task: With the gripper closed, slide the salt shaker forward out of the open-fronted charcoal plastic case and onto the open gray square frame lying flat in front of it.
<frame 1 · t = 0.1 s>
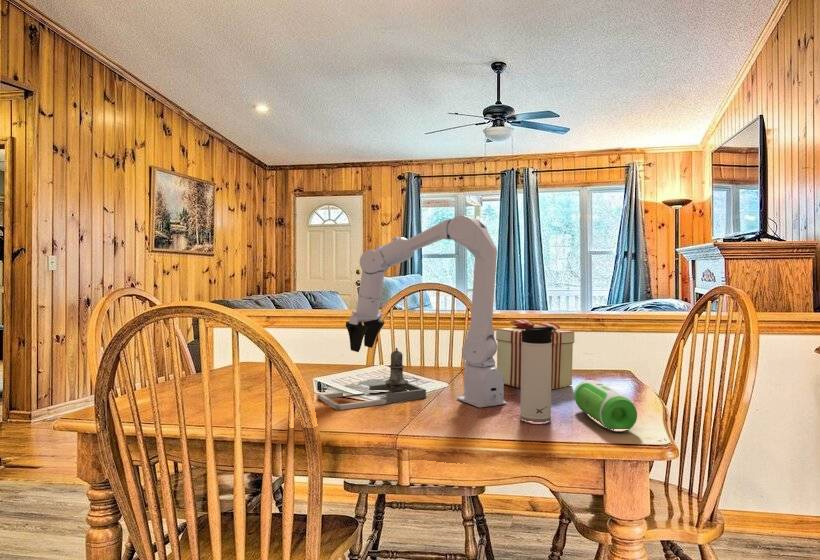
hand: (361, 348, 148), 11 cm above the table, tool pointing down, fingers open, 7 cm apart
speaker: (603, 423, 120), on the table
gift box: (535, 384, 157), on the table
gray square frame: (351, 401, 136), on the table
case: (396, 395, 142), on the table
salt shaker: (396, 396, 142), resting in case
travel mug: (536, 421, 121), on the table
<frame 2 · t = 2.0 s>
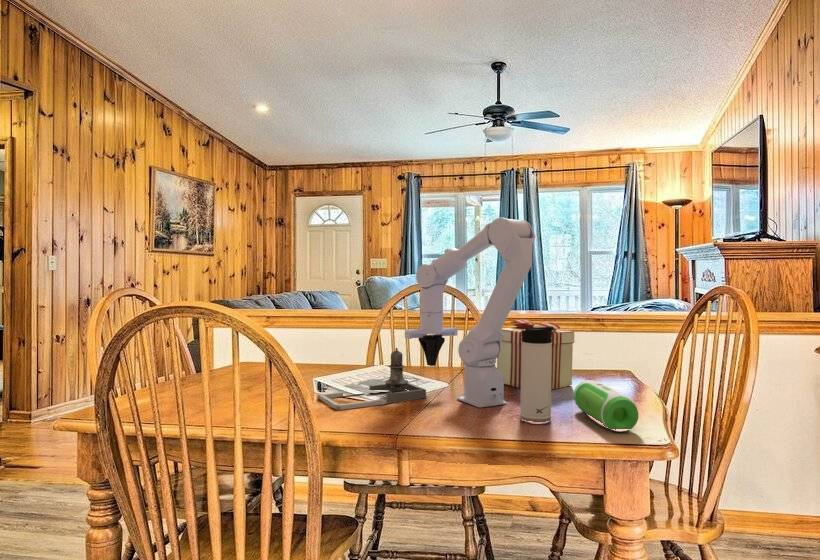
hand: (431, 365, 147), 7 cm above the table, tool pointing down, fingers closed
nothing on the table moved.
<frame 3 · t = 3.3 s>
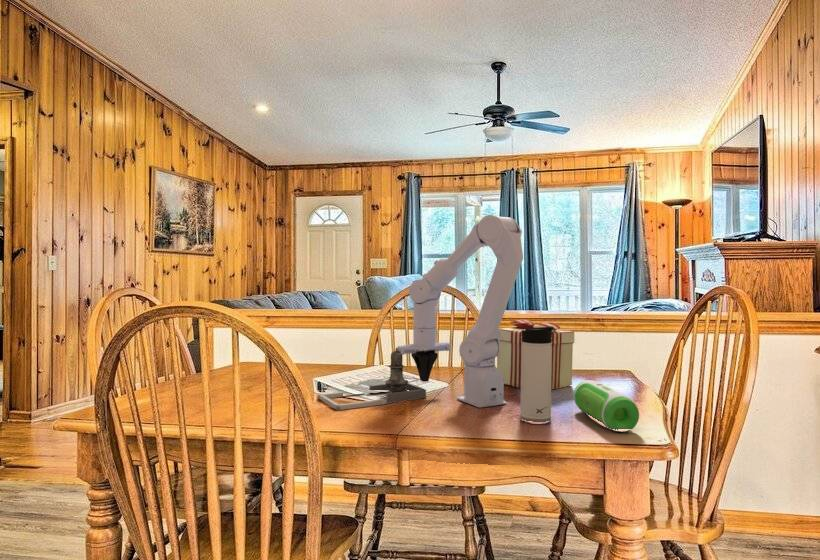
hand: (424, 380, 146), 3 cm above the table, tool pointing down, fingers closed
nothing on the table moved.
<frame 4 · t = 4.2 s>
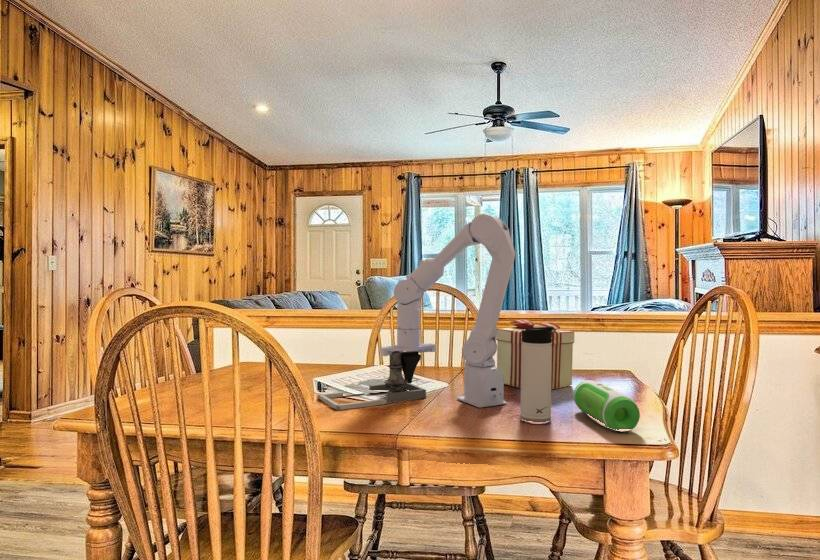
hand: (408, 382, 144), 3 cm above the table, tool pointing down, fingers closed, pressing on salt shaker
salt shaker: (396, 396, 142), resting in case, touching gripper
everything else where it was.
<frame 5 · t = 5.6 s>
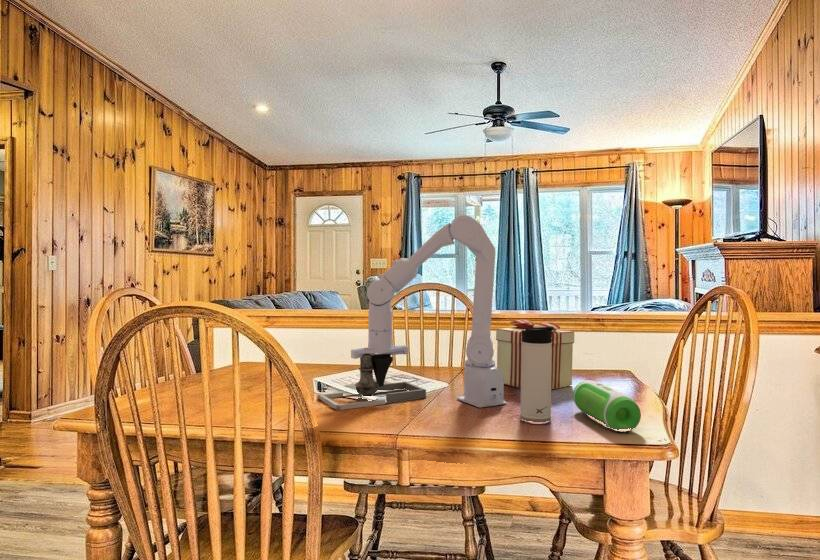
hand: (380, 385, 140), 3 cm above the table, tool pointing down, fingers closed
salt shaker: (367, 399, 138), resting on gray square frame, touching gripper
everything else where it was.
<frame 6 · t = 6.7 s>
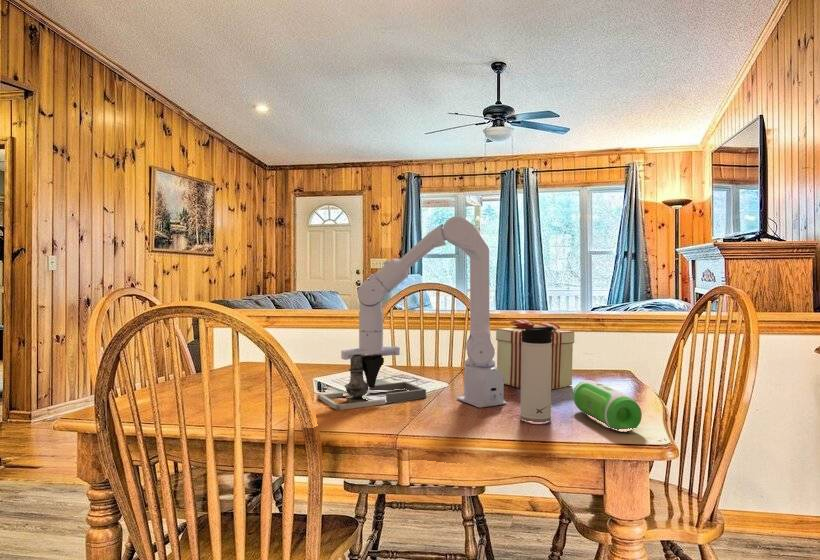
hand: (370, 386, 139), 3 cm above the table, tool pointing down, fingers closed
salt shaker: (357, 401, 137), resting on gray square frame, touching gripper
everything else where it was.
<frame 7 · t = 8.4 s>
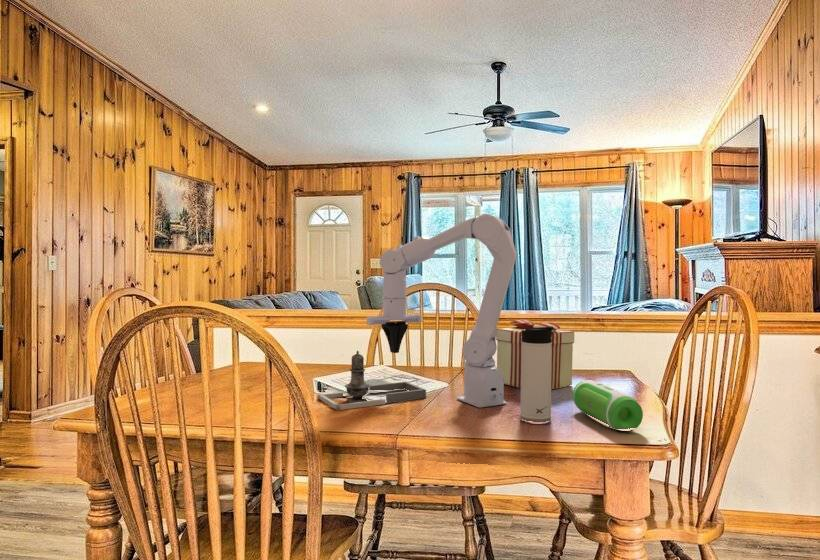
hand: (394, 352, 144), 10 cm above the table, tool pointing down, fingers closed
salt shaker: (357, 401, 137), resting on gray square frame
everything else where it was.
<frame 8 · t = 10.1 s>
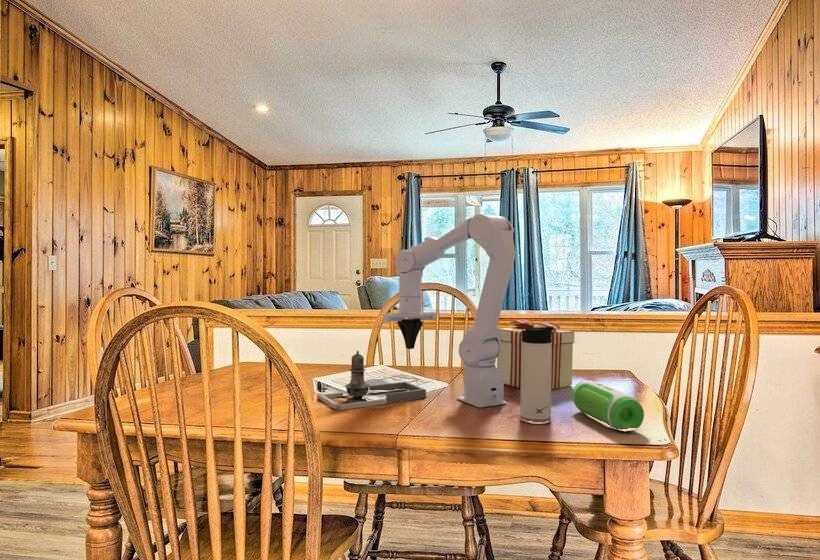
hand: (409, 348, 150), 10 cm above the table, tool pointing down, fingers closed
nothing on the table moved.
at the end: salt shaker 0.6 cm from the target spot on the gray square frame, point 0.0 cm above the gray square frame's base; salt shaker tilted 0°; the gripper is holding nothing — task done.
